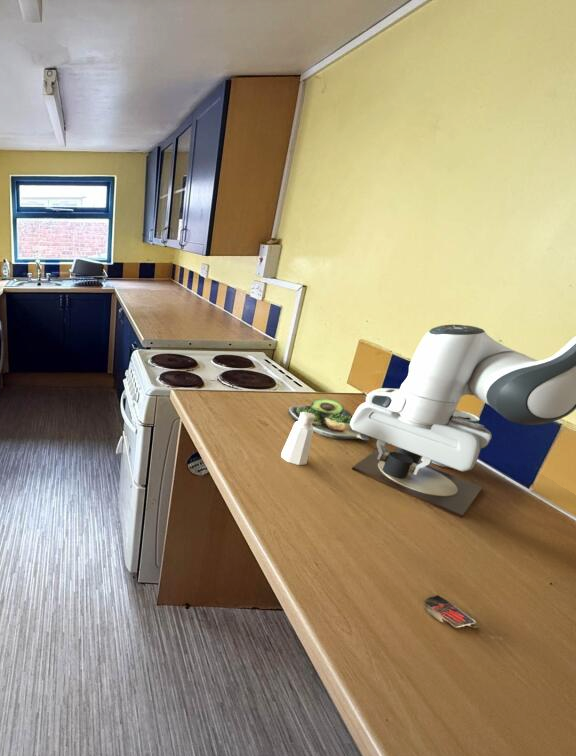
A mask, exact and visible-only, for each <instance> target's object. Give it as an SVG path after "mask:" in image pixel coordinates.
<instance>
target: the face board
mask: <svg viewBox="0 0 576 756" xmlns="http://www.w3.org/2000/svg"><path fill="white" fill-rule="evenodd" d="M386 452H388V453H390V452H392V451H391V450H389V449H386ZM378 455H379V451H378V448H377V449H375V450H373V452H371V453H370V454H368V455H367V456H366V457H364V458H362V460H360V461H359V462H358V463H356V464H355V465H353V466H352V467H351V470H353V471H354V472H357V473H359V474H361V475H364V476H366V477H368V478H370V479H373V480H375V481H377V482H379V483H382V484H384V485H386V486H389V487H391V488H393V489H395V490H397V491H400V492H402V493H404V494H407V495H409V496H411V497H413V498H415V499H418V500H419V501H420V500H421V501H422V502H425V503H426V504H429V505H432V506H433V507H436V508H438V509H441V510H443V511H445V512H447V513H450V514H452V515H453V516H456V517H458V518H463V517H464V515H465V514H466V512H467V511H468V510H469V508H470V507H471V505H472V504H473V502H474V501H475V499H476V498H477V496H478V495H479V494H480V492H481V491H482V490H483V486H481V485H479V484H476V483H474V482H470V481H468V480H465V479H463V478H460V477H457V476H455V475H452V474H450V473H448V472H446V471H442V470H440V469H437V468H434V467H432V466H430V465H427V466H425V467H423V468H421V469H420V471H419V473H418V474H417V475H414V474H412V473H409V472H408V474H407V476H406V478H404V479H399V478H395V477H392V476H390V475H388V474H386V473H385V472H384V471H383V467H384V465H385V462H383V461H380V460H378V459H377V458H378ZM419 463H420V461H419V462H418V464H419Z"/></svg>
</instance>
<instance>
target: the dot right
mask: <svg viewBox="0 0 576 756" xmlns="http://www.w3.org/2000/svg"><path fill="white" fill-rule="evenodd" d="M412 463H413V459H412V458H411V457H409V456H407V455H405V454H402V453H398V452H396V451H391V452H390V453H389V455H388V457H387V460H386V462H385V465H384V467H383V471H384V472H385V473H386V474H388V475H390V476H392V477H395V478H399V479H404V478H406V476H407V474H408V469H409V467H410V465H411V464H412Z"/></svg>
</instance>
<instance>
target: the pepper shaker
mask: <svg viewBox="0 0 576 756" xmlns="http://www.w3.org/2000/svg"><path fill="white" fill-rule="evenodd" d="M314 419H315V416H314V415H313V414H311V413H308V412H301V413H300V417H299V421H295V422H294V424H293V426H292V429H291V431H290V433H289V435H288V438H287V439H286V442H285V444H284V446H283V448H282V451H281V454H280V457H281V458H282V459H283V460H285V461H286V462H288V463H290V464H292V465H296V466H303V465H307V464H308V459H309V455H310V450H311V445H312V440H313V434H314V431H313V425H312V423H313V421H314Z"/></svg>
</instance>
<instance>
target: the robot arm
mask: <svg viewBox="0 0 576 756" xmlns="http://www.w3.org/2000/svg"><path fill="white" fill-rule="evenodd" d="M466 395H468V396H474V397H475V398H477V399H478V400H480V401H482V402H483V403H485V404H486V405H488V406H490V407H491V408H492V409H493V410H494V411H496V412H497V413H498V414H499V415H501V417H503V418H504V419H506V420H507V421H509V422H512V423H515V424H519V425H523V426H524V425H525V426H538V425H543V424H544V425H545V424H549V423H553V422H557V421H558V420H561V419H564V418H565V417H568V416H569V415H571V414H572V413H573V412H575V411H576V335H575V336H574V337H573V338H572V339H571V340H570V341H569V342H566V344H565V345H563V346H562V348H561V349H560V350H558V351H557V352H556V353H554V354H553V355H551V356H549V357H547V358H545V359H540V360H538V359H535V358H533V357H530V356H528V355H526V354H524V353H522V352H519V351H516V350H514V349H513V348H509V347H507V346H505V345H503V344H502V343H500V342H498V341H496V340H495V339H494V338H492V337H490V335H488V334H487V332H486V331H485V330H484V329H483V328H480V327H478V326H473V325H464V324H443V325H439V326H435V327H433V328H430V329H429V330H428V331H427V332H426V333H425V334H424V336H423V337H422V338H421V339H420V342H419V344H418V346H417V347H416V349H415V352H414V354H413V355H412V358H411V360H410V362H409V365H408V373H407V377H406V378H405V379H404V381H403V382H402V383H401V384H400V387H399V388H391V387H390V388H388V387H379V388H376V389H374V390H371V391H370V392H369V393H368V394H366V397H365V401H364V402H363V403H361V404H360V405H359V406H357V408H356V410H355V412H354V414H353V415H352V419H351V422H350V426H351V428H352V430H354V431H357V432H360V433H362V434H365V435H367V436H368V437H369V438H373V439H376V444H375V445H376V448H377V449H378V451H379V455H378V458H377V459H378V460H380V461H383V462H386V460H387V457H388V455H389V453H388V452H386V450H387V449H386V446H387V444H388V445H391V446H394V447H396V448H398V447H399V448H402V449H404V450H407V451H410V452H412V453H415V454H417V455H420V456H421V458H420V461H421V462H419V464H416V463H412V464H411V465H410V467H409V469H408V472H409V473H412V474H414V475H417V474H418V473H419V471H420V469H421V468H423V467H425V466H430V464H432V463H431V462H432V461H436V462H439V463H441V464H444V465H446V466H449V467H452V468H451V469H454V470H457V471H459V472H469V471H471V470H472V469H473V468H474V467H475V465H476V463H477V461H478V459H479V456H480V453H481V450H482V449H486V447H488V446H489V443H490V441H491V440H492V433H491V431H490V430H489V429H487V428H486V427H485V425H483V424H481V423H480V424H478V423H473V422H470V421H467V420H465V419H462V418H459V417H456V416H453V413H454V411H455V410H457V407H458V405H459V402H460V401H461V398H462V397H464V396H466ZM450 420H451V421H450Z"/></svg>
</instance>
